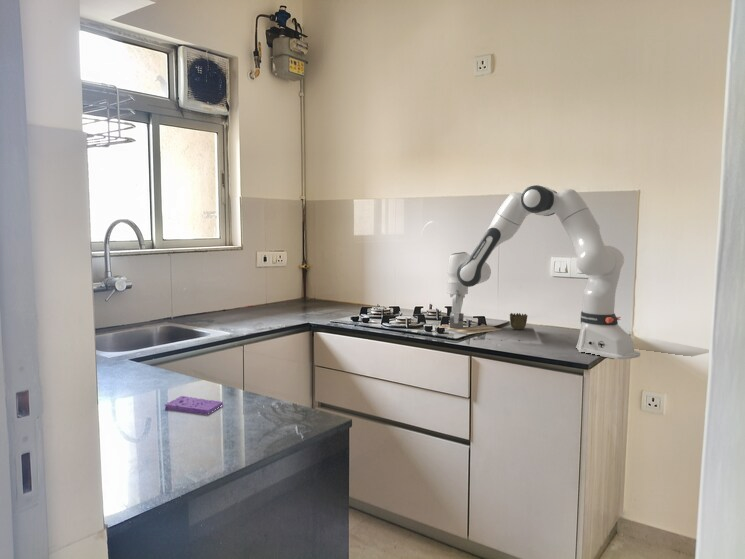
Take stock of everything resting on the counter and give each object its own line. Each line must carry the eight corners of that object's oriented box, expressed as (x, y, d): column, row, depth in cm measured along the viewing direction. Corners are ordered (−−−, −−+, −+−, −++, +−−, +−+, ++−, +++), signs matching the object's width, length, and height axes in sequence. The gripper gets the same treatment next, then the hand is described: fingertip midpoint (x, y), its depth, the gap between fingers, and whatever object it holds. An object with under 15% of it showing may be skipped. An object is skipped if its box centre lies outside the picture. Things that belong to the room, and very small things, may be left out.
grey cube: (463, 326, 250) (463, 312, 249) (462, 328, 244) (463, 314, 244) (449, 325, 251) (450, 311, 250) (449, 328, 245) (449, 313, 245)
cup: (527, 334, 241) (528, 316, 241) (509, 333, 243) (510, 315, 242) (526, 331, 249) (526, 313, 248) (508, 330, 250) (509, 312, 249)
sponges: (181, 402, 149) (181, 395, 149) (224, 407, 145) (223, 400, 145) (164, 411, 142) (164, 403, 142) (208, 417, 138) (208, 409, 138)
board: (502, 332, 245) (503, 329, 245) (468, 337, 234) (468, 333, 234) (470, 325, 261) (470, 321, 261) (436, 329, 250) (436, 325, 250)
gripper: (464, 292, 236) (463, 325, 237) (465, 287, 256) (464, 317, 257) (448, 292, 237) (448, 325, 239) (451, 286, 257) (450, 317, 259)
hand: (456, 321), depth 248 cm, fingers open, 8 cm apart
